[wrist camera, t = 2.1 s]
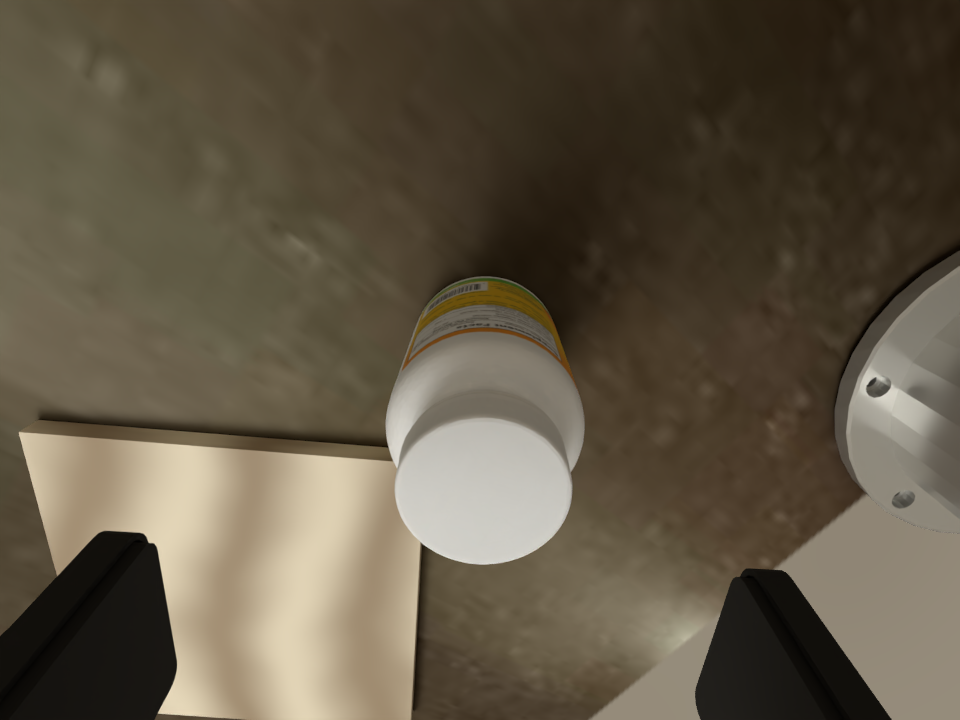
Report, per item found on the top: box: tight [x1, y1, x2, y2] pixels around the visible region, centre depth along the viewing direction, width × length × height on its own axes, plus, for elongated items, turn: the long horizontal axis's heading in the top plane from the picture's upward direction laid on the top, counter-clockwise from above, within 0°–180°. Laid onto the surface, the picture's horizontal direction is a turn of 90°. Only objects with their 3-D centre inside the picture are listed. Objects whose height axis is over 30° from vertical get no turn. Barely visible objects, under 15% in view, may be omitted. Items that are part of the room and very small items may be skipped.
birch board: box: [19, 420, 422, 720], centre depth 25 cm, size 16×16×1 cm
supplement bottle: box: [386, 276, 585, 564], centre depth 17 cm, size 5×5×10 cm
